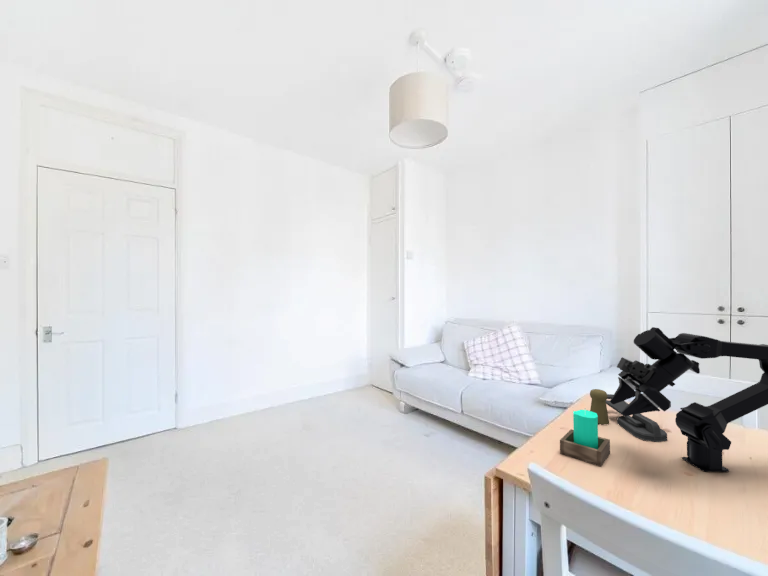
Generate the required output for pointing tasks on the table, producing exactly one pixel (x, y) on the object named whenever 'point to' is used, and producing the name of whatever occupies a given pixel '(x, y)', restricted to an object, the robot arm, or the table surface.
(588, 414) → the candle
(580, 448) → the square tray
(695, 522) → the table surface
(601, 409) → the cork
